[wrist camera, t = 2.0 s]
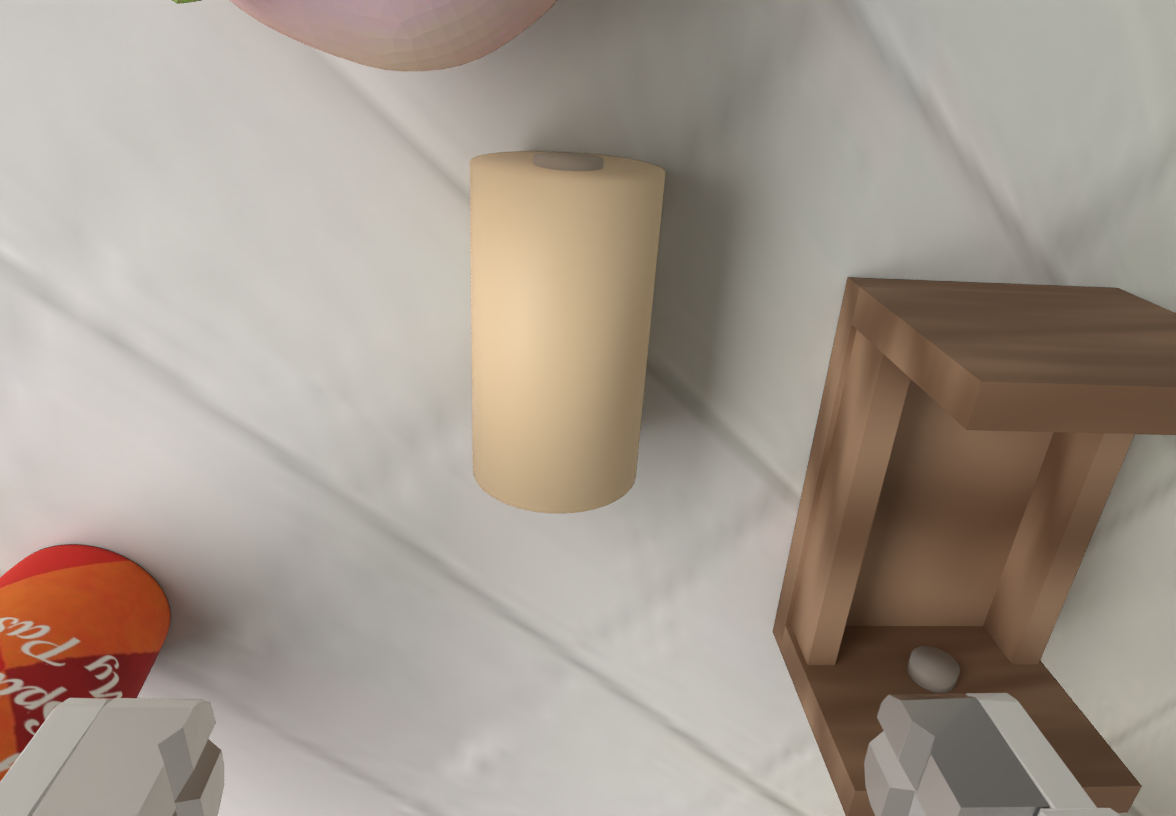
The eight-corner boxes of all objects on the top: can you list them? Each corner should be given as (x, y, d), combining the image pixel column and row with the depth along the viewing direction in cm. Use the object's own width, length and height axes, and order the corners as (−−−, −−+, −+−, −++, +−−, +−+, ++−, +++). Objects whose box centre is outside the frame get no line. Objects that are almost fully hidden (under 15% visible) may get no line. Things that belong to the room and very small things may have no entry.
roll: (458, 141, 21) (486, 172, 17) (630, 146, 22) (697, 175, 18) (463, 441, 25) (486, 528, 21) (608, 430, 26) (658, 509, 22)
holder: (847, 277, 24) (981, 381, 17) (1118, 287, 25) (1357, 392, 17) (772, 631, 30) (846, 818, 23) (989, 631, 31) (1127, 812, 24)
